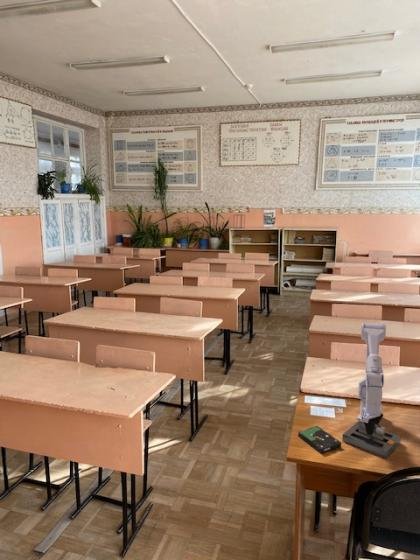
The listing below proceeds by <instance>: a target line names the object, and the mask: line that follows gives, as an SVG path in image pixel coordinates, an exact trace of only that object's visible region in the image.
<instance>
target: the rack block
mask: <svg viewBox="0 0 420 560" xmlns="http://www.w3.org/2000/svg"><path fill="white" fill-rule="evenodd" d="M401 438H402V437H401V435H398V434H395V433H393V432H389V431H386V430H385V437H384V442H383V441H380V440H378V439H375V438H372V437H370V436H367V435H364V434H362V433H359V421H357V422H355V423H354V424H353V425H352V426H351V427H349V428H348V429H346V431H345V432H343V433H342V439H341V440H342V442H344V443H346V444H349V445H351V446H354V447H356V448H359V449H361V450H364V451H366V452H368V453H371V454H374V455H376V456H379V457H381V458H384V459H388V458H389V456H390V455H392V453H393V452H394V451H395V450H396V449H397V447H399V445H400V444H401V441H402V440H401Z"/></svg>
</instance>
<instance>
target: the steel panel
mask: <svg viewBox="0 0 420 560" xmlns="http://www.w3.org/2000/svg"><path fill="white" fill-rule="evenodd" d="M358 422H359V433H362V434H364V435H367V436H370V437H372V438H375V439H378V440H380V441H383V442H384V437H385V431H386V427H384V426H382V425H380V424H379V425H376V424H375V426H374V431H373V434H372V435H369V434H367V433H366V428H365V425H364V422H363V421H362V419H358Z"/></svg>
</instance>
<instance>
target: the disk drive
mask: <svg viewBox="0 0 420 560" xmlns="http://www.w3.org/2000/svg"><path fill="white" fill-rule="evenodd" d="M297 437H298V438H300V439H301V440H302V441H304V442H305V443H306V444H307V445H309V446H310V447H312V449H314V450H315V451H317V452H318V453H319V454H321V455H323V454H326V453H329V452H331V451H335V450H338V449H341V448H342V442H341V441H340V440H338V439H337V438H335V437H334V436H333V435H331V434H330V433H328V432H327V431H326V430H324V429H323V428H322V427H320V426H318V425H315V426H312V427H309V428H307V429H303V430H299V431H298V433H297ZM337 448H338V449H337Z"/></svg>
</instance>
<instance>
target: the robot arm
mask: <svg viewBox="0 0 420 560" xmlns="http://www.w3.org/2000/svg"><path fill="white" fill-rule="evenodd" d="M386 330H387V327H386V324H385V323H376V322H375V323H373V322H372V323H371V322H362V323H361V325H360V338H361V341H364V342H365V344H366V351H365V352H366V353H365V354H366V355H365V356H366V357H365V376H364V377H363V378H362V379H360V380H359V381H358V387H357V388H358V389H357V397H358V399H360V409H359V410H360V411H359V414H358V415H357V416H356V419H357V420H360V419H362V421H363V422H364V425H365V428H366V433H367V434H369V435H372V434H373V431H374V426H375V424H376V425H379V426H380V422H381V420H382V418H383V417H384V414H383V412H382V411H383V405H382V400H383V388H384V385H385V374H384V370H383V358H382V357H381V356H380V355H379V354H380V353H379V352H380V342H383V341H384V339H385V338H386V336H387V335H386V333H387V331H386Z"/></svg>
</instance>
